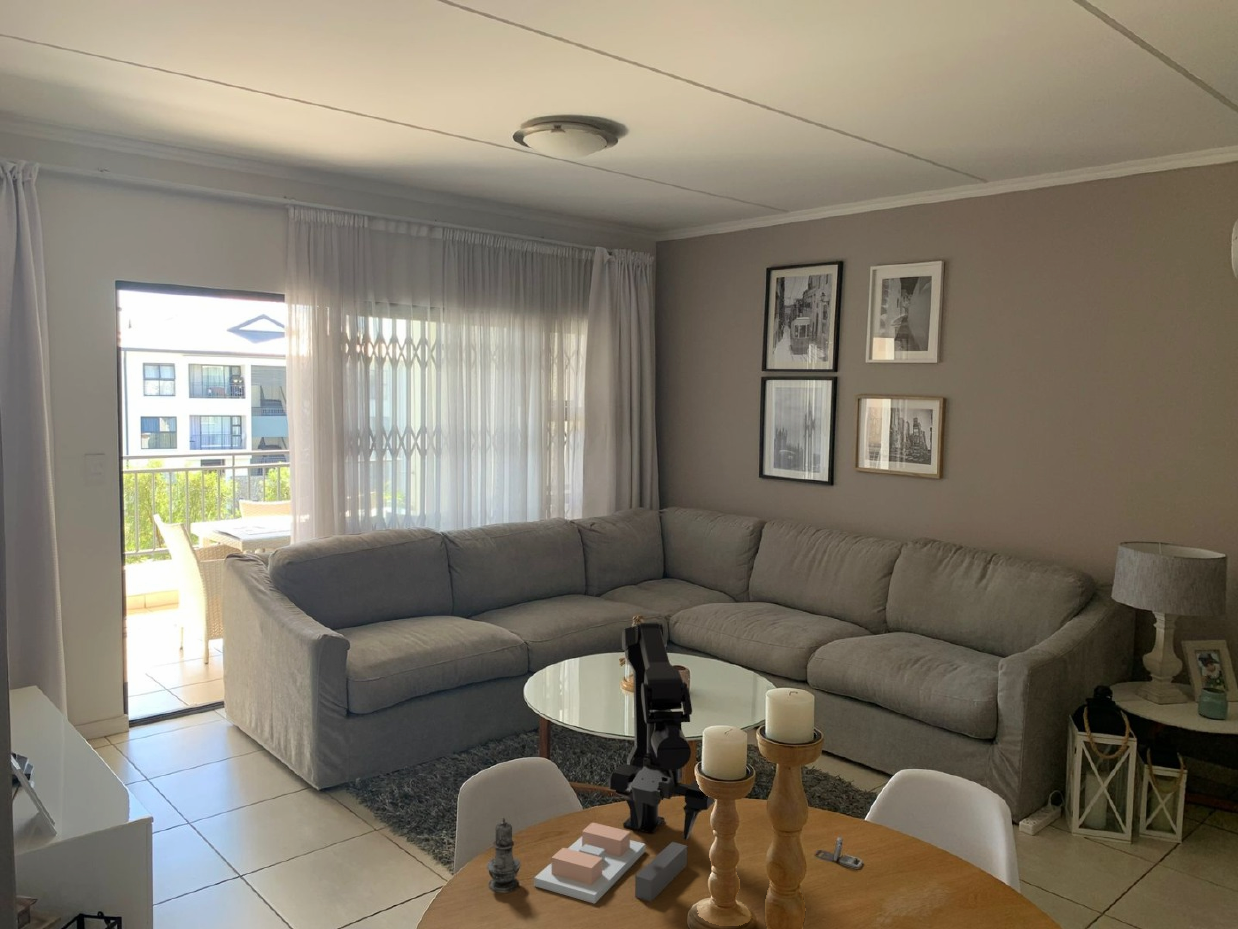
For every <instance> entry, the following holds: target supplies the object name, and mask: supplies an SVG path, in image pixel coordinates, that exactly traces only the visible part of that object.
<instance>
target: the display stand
mask: <svg viewBox="0 0 1238 929" xmlns="http://www.w3.org/2000/svg"><path fill="white" fill-rule="evenodd" d="M644 853H646V843H643V842H639V841H635V840H631V831H629V830H624V829H622V828H621V829H620V828H617V827H613V826H608V825H606V824H601V823H596V822H591V823H590V824H589V825H588V826H587V827H585V828H584V829H583V830H582V831H581V836H580V837H579V838H578V839H577V840H576V841H575V842H574V843H572V844H571V845H570V846H569V847H568V848H566V847H561V849H560V850H558V851H557V852H556V853H555V854H554V855H553V856H551V863H550V864H548V865H547V866H546V867H545V868H544V869H542V870H541V871H540V872H539V873H538V874H537V875H536V876H534V878H533V881H534V882H533V885H534V887H536V888H539V889H540V888H541V889H543V890H547V891H550V892H553V893H556V894H561V895H563V896H564V895H565V896H568V897H571V898H575V899H578V900H581V901H585V902H587V903H591V904H594V905H595V904H596V903H597V902H598V901H599V900H600V899H601V898H602V897H603V896H604V895H605V894H606V893H607V892H608V891H609V890H610V888H612V886H613V885H615V883H617V881H618V880H619V879H620V878H622V877H623V875H625V873H626V872H627V871H628V870H629V869H630V868H631V867H632V866H633V865H634V864H635V863H636V862H637V860H639V859H640V857H642V856H643V854H644Z"/></svg>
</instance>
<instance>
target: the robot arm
mask: <svg viewBox="0 0 1238 929" xmlns="http://www.w3.org/2000/svg"><path fill="white" fill-rule="evenodd" d="M667 646H668V643H667V628H666V627H665V626H663V623H661V622H660V623H659V621H646V622H645V621H644V622H638V623H635V625H633V626H628V627H626V628H624V629H623V631H622V633H621V648H622V651H624V657H625V660H626V661H627V663H628V664H629V666H630V667H631V669H632V672H633V673H632V675H633V678H632V679H633V683H632V684H633V721H634V722H633V725H634V730H633V731H634V732H633V734H634V745H633V747H632V748H631V750H630V752H629V754H628V756H627V757H626V763H623V764H621V765H620V766H619V767H618V768H616V769H615V770H613V771H612V772H611V773H610V775H609V776H608V777H609V778H608V788H609V790H613V791H615V793H616V795H618V796H621V797H622V798H623V799H624V800H625V802H626V804H627V806H628V809H629V817H628V818H627V819H626V820H625V821H624V822H623V823H622V827H624V828H628V829H631V830H632V829H633V830H638V831H641V832H644V833H649V834H652V833H654V832H655V830H657V829H658V828H659V827H660V826H661V825H662V824H663V823H664V822H665V817H663V816H659V805H660V804H661V802H662V801H663V800H664V799H666V800H671V798H672V797H673V795H678V796H682V797H684V803H685V805H684V806H683V812H684V814H685V815H684V824H683V826H684V827H683V839H684V840H686V841H687V840H688V839H689V838H690V835H691V832H692V830H693V827H694V825H695V822H696V820H697V817H698V815H699V813H701V812H702V811H705V810H706V811H707V810H708V809H709V808H710V807H711V806H712V805H713V804H714V803H715V802H716V800H715V801H714V799H713V798H711V797H708V796H706V795H705V794H704V793H703V792H702V791H701V790H700V789H699V785H698V784H697V781H696V779H695V780H694V781H693V782H692V783H690V784H685V783H681V782H680V780H681V779H682V778H683V772H682V771H680V769H682V768H683V767H685V766H686V765H687V764H688V762H689V761H690V759H691V756H692V755H691V754H692V750H691V749H692V748H691V746H690V744H689V741H688V739H687V737H686V735H685V734H684V731H683V729H682V723H691V716H690V715H692V713H693V708H692V701H691V700H692V699H691V693H690V689H689V687H687V686H688V684H687V683H686V682H685V681H683V677H682V675H681V672H680V670H679V669H678V668H676V667H674V666H673V665H671V662H670V659H669V656H668V652H667V648H666V647H667ZM681 709H682V710H681ZM673 710H675V711H673ZM676 710H678V711H676ZM680 710H681V711H680Z"/></svg>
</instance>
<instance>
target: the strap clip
mask: <svg viewBox="0 0 1238 929" xmlns="http://www.w3.org/2000/svg"><path fill="white" fill-rule="evenodd" d="M835 841H836V843H835V846H834V847H835V848H834V852H830V851H827V850H823V849H818V850H817V851H816V853H815V854H814V855H813V856H814V858H817V859H820V860H823V861H827V862H832V863H833V862H837V860H838V864H839V865H842V866H843V867H844V866H845V867H847V868H851V869H854V870H855V869H856V870H859V869H860V868H861V867H862V866H863V860H862V859H861V858H859V857H856V856H852V855H848V854H843V855H842V850H843V843H844V842H843V837H837V839H835ZM819 853H822V855H821V856H819ZM856 863H858V864H856Z"/></svg>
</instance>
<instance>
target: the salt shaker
mask: <svg viewBox="0 0 1238 929" xmlns="http://www.w3.org/2000/svg"><path fill="white" fill-rule="evenodd" d="M492 844H493V845H492V846H493V847H494V858H492V859H491V860H489V861H488V862H487V864H486V869H487V871H488V874H489V876H490V878H491V880H489V882H488V889H490V890H491V891H493V892H494V893H495V892H496V893H501V894H502V893H510V892H513V891H515V890H516V889H518V887H519V886H520V881H519V880H518V879H517V878H516V877H517V875H518V873H519V870H520V869H521V866H522V865H521V861H520V859H518V858H516V857H514V855H513V847H514V846H515V841H514V840H513V826H512V824H511V823H510V822H507V820H506V819H505V818H504V817H503V818H502V819H501V821H500V822H499V823H497V824H496V826H495V841H494V842H493V843H492Z"/></svg>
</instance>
